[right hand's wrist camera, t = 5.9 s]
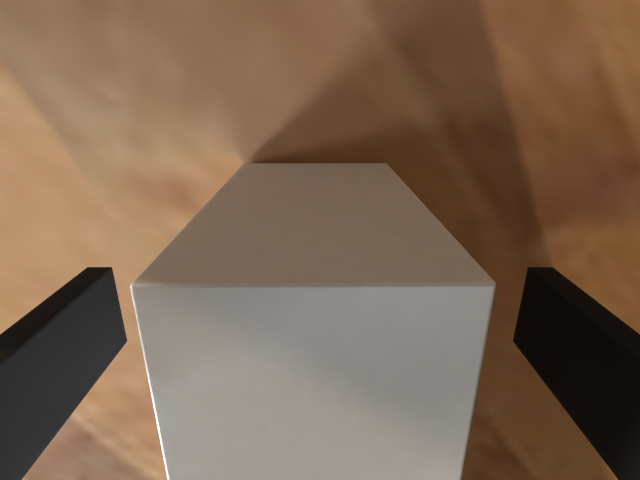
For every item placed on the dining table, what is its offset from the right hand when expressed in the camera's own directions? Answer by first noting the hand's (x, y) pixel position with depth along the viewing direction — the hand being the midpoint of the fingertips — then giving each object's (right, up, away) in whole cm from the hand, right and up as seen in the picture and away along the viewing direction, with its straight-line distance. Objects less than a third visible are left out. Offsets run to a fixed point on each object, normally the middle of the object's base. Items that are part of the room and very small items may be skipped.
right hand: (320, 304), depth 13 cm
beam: (0, -10, +7) cm, 12 cm away
